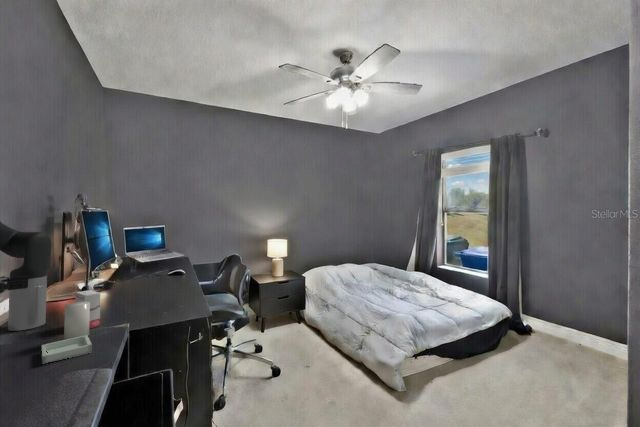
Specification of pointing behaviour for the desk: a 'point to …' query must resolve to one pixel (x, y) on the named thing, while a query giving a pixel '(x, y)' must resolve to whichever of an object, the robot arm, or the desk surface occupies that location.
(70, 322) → the white pillar candle
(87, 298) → the ink box
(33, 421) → the desk surface
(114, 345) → the desk surface
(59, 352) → the tray
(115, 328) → the desk surface
